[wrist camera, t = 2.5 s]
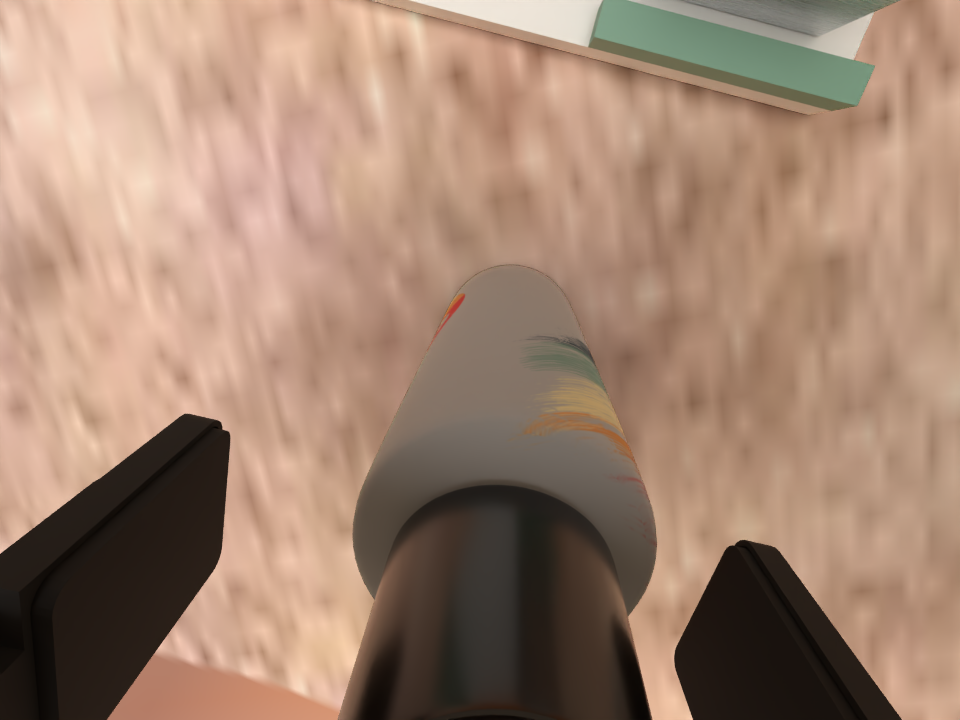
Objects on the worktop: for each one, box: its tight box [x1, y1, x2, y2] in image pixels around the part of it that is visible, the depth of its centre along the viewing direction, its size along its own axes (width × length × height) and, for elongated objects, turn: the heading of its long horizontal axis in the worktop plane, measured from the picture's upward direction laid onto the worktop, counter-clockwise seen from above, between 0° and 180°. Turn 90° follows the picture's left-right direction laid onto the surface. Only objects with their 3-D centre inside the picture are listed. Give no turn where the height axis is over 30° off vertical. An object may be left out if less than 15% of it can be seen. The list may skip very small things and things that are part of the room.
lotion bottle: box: [338, 265, 657, 720], centre depth 14 cm, size 6×6×20 cm
